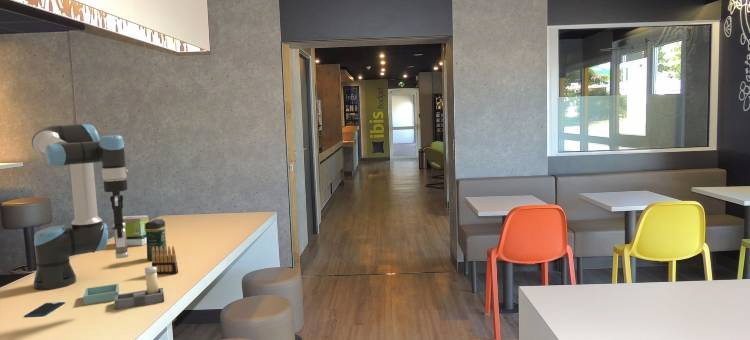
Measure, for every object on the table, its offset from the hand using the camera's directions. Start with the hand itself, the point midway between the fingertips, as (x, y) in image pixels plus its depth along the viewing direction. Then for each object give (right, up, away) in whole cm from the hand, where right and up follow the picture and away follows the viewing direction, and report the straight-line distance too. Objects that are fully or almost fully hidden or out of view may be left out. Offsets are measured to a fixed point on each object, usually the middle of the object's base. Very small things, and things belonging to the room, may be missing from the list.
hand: (121, 245), depth 198 cm
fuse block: (+5, -21, +4) cm, 22 cm away
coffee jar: (-14, -16, +68) cm, 71 cm away
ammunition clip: (0, -18, +41) cm, 44 cm away
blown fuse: (0, -4, 0) cm, 4 cm away
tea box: (-40, -13, +103) cm, 111 cm away
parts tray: (-12, -21, +11) cm, 26 cm away
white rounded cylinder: (+9, -21, +6) cm, 23 cm away
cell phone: (-27, -23, 0) cm, 36 cm away
